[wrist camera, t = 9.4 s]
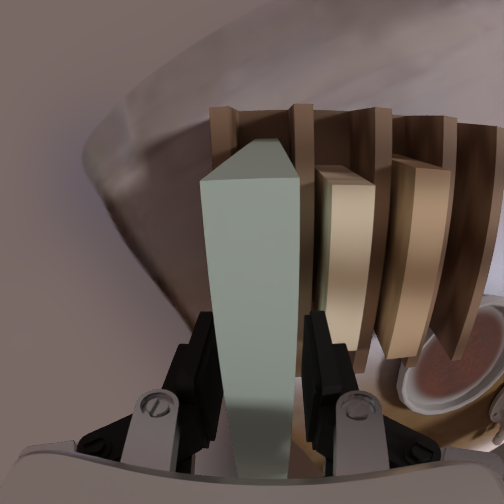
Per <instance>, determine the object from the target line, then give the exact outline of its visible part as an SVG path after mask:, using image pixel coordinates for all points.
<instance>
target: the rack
mask: <svg viewBox="0 0 504 504" xmlns="http://www.w3.org/2000/svg"><path fill="white" fill-rule="evenodd" d="M209 111H210V129H211V146H212V162H213V170H214V169H216V168H217V167H218V166H220V165H221V164H222V163H224V162H225V161H226V160H227V159H229V158H230V157H231V156H233V155H234V154H235V153H237V152H238V151H239V150H241V149H242V148H243V147H245V146H246V145H248V144H249V143H250V142H252V141H253V140H254V139H275V138H278V140H279V142H280V143H281V145H282V147H283V149H284V150H285V152H286V154H287V156H288V157H289V159H290V161H291V163H292V165H293V167H294V168H295V170H296V172H297V174H298V176H299V178H300V253H299V299H298V328H297V351H296V370H295V377H301V364H302V348H303V330H304V315H309V313H310V311H314V308H313V303H312V276H313V248H314V165H342V166H344V167H346V168H347V169H349V170H351V171H352V172H354V173H356V174H357V175H359V176H361V177H362V178H364V179H366V180H367V181H369V182H370V183H372V184H374V185H375V204H374V220H373V232H372V244H371V254H370V264H369V272H368V281H367V289H366V296H365V303H364V310H363V317H362V323H361V329H360V335H359V341H358V347H357V350H355V351H348V352H349V356H350V359H351V363H352V366H353V370H354V374H356V373H364V371H365V367H366V363H367V358H368V353H369V349H370V344H371V339H372V334H373V329H374V323H375V318H376V312H377V306H378V300H379V294H380V287H381V280H382V273H383V265H384V257H385V249H386V240H387V230H388V218H389V206H390V190H391V169H392V154H398V155H402V156H405V157H409V158H412V159H416V160H419V161H422V162H425V163H429V164H432V165H435V166H438V167H441V168H444V169H447V170H450V171H451V177H450V189H449V199H448V209H447V217H446V224H445V232H444V238H443V245H442V251H441V256H440V262H439V267H438V272H437V277H436V282H435V287H434V291H433V296H432V300H431V304H430V308H429V312H428V316H427V320H426V324H425V327H424V331H423V334H422V338H421V341H420V345H419V348H418V351H417V355H416V356H412V357H404V358H401V360H402V363H403V365H404V367H405V368H411V367H416V366H417V363H418V360H419V357H420V354H421V351H422V348H423V344H424V341H425V338H426V334H427V331H428V327H430V328H431V330H432V331H433V333H434V334H435V336H436V337H437V339H438V341H439V342H440V344H441V345H442V347H443V348H444V350H445V352H446V353H447V355H448V357H449V358H450V360H451V361H455V360H460V359H461V357H462V355H463V352H464V350H465V347H466V344H467V342H468V339H469V336H470V333H471V331H472V328H473V325H474V322H475V319H476V316H477V312H478V309H479V306H480V303H481V299H482V296H483V292H484V289H485V285H486V281H487V277H488V273H489V269H490V265H491V261H492V256H493V252H494V247H495V242H496V237H497V231H498V225H499V219H500V213H501V206H502V198H503V190H504V128H501V127H497V126H488V125H477V124H465V123H457V118H454V117H448V116H401V115H392V109H388V108H377V107H374V108H367V109H361V110H354V111H330V110H313V104H293V105H292V106H291V107H290V108H289V110H263V111H240V112H239V111H237V110H235V109H233V108H231V107H229V106H226V107H213V108H209Z"/></svg>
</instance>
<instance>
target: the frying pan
mask: <svg viewBox="0 0 504 504" xmlns="http://www.w3.org/2000/svg"><path fill="white" fill-rule="evenodd" d="M503 373H504V297H501V296H495V295H484V294H483V296H482V299H481V303H480V306H479V309H478V312H477V316H476V319H475V322H474V325H473V328H472V331H471V333H470V336H469V339H468V342H467V344H466V347H465V350H464V352H463V355H462V357H461V359H460V360H455V361H451V360H450V358H449V357H448V355H447V353H446V352H445V350H444V348H443V347H442V345H441V344H440V342H439V341H438V339H437V337H436V336H435V334H434V333H433V331H432V330H431V328H430V327H428V331H427V334H426V338H425V341H424V344H423V348H422V351H421V354H420V357H419V360H418V363H417V366H416V367H411V368H405V367H404V365H403V363H402V360H401V364H400V369H399V375H398V380H397V385H396V388H397V392H398V395H399V399H400V401H401V402H402V403H403V404H404V405H406V406H407V407H408V408H409V409H410V410H412V411H414V412H417V413H421V414H425V415H433V414H443V413H446V412H449V411H453V410H456V409H459V408H460V407H462V406H464V405H466V404H468V403H470V402H472V401H473V400H475V399H476V398H478V397H479V396H480V395H482V394H483V393H484V392H485V391H487V390H488V389H489V388H490V387H491V386H492V385H493V384H494V383H495V382H496V381H497V380H498V379H499V378H500V376H501V375H502V374H503Z"/></svg>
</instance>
